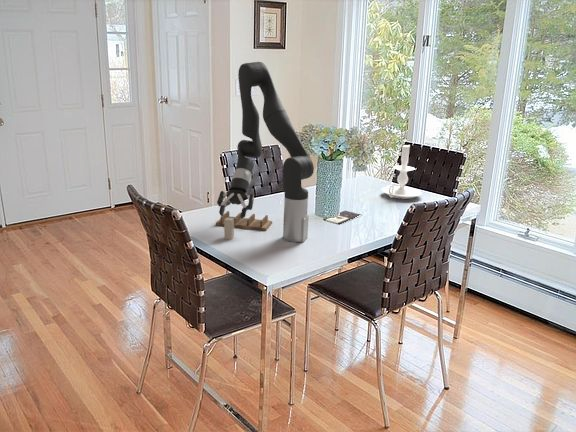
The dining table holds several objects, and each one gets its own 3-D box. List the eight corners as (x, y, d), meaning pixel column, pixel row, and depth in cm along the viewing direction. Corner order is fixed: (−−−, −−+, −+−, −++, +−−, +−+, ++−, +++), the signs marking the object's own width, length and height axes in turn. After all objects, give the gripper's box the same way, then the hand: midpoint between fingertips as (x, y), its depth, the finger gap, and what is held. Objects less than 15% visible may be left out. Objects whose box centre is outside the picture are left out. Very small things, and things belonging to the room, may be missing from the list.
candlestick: (369, 198, 273) (374, 144, 264) (392, 189, 291) (397, 139, 283) (406, 206, 261) (412, 150, 252) (427, 197, 279) (433, 144, 271)
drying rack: (272, 223, 227) (272, 215, 226) (266, 230, 218) (266, 222, 217) (223, 218, 232) (223, 210, 231) (215, 225, 223) (215, 216, 221)
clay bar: (234, 237, 209) (234, 218, 207) (231, 239, 207) (231, 220, 204) (226, 236, 210) (226, 217, 208) (224, 238, 207) (224, 219, 205)
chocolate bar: (361, 214, 243) (340, 223, 230) (361, 216, 243) (340, 225, 230) (345, 210, 248) (323, 218, 235) (344, 212, 249) (323, 220, 235)
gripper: (222, 175, 214) (212, 210, 207) (255, 178, 211) (246, 214, 204) (226, 184, 221) (216, 218, 213) (259, 188, 218) (250, 222, 210)
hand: (231, 216), depth 209 cm, fingers open, 8 cm apart
